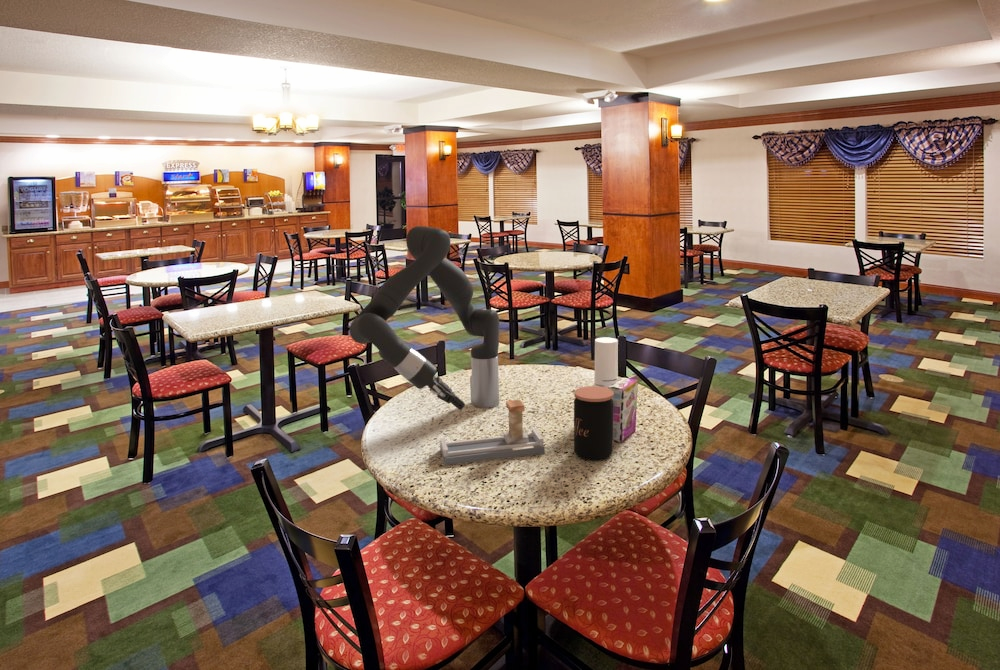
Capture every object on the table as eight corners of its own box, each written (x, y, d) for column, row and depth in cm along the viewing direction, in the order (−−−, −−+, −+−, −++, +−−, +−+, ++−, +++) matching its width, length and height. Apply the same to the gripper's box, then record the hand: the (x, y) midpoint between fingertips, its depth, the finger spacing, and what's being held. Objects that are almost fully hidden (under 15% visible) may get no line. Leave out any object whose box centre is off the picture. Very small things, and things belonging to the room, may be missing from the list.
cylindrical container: (616, 419, 192) (617, 343, 186) (593, 418, 193) (594, 342, 188) (616, 411, 199) (617, 337, 193) (594, 410, 200) (595, 337, 194)
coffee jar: (570, 446, 172) (570, 386, 168) (607, 444, 173) (608, 385, 169) (578, 463, 162) (578, 399, 158) (617, 460, 163) (618, 397, 159)
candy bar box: (622, 443, 174) (623, 389, 170) (606, 440, 176) (607, 386, 173) (637, 430, 183) (638, 378, 179) (621, 427, 185) (622, 376, 182)
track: (444, 465, 163) (444, 451, 162) (440, 450, 172) (439, 437, 171) (544, 453, 168) (544, 440, 168) (534, 439, 178) (534, 426, 177)
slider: (507, 446, 168) (506, 407, 166) (503, 439, 173) (502, 401, 170) (528, 443, 170) (527, 405, 167) (524, 437, 174) (523, 399, 172)
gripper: (427, 364, 153) (476, 404, 159) (421, 351, 166) (467, 389, 171) (407, 385, 154) (457, 425, 159) (403, 371, 166) (449, 408, 172)
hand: (462, 406), depth 165 cm, fingers closed
